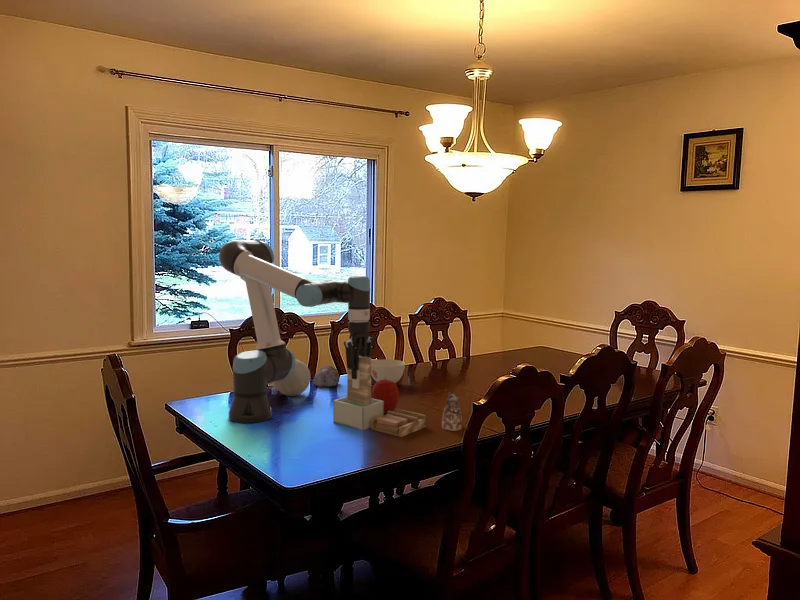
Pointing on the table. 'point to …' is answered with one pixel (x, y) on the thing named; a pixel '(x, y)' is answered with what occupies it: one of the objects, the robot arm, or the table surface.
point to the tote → (356, 412)
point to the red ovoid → (386, 394)
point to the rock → (326, 377)
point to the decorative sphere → (295, 380)
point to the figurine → (452, 414)
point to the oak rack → (414, 421)
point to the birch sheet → (365, 382)
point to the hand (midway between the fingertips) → (359, 386)
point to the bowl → (387, 369)
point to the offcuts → (390, 423)
